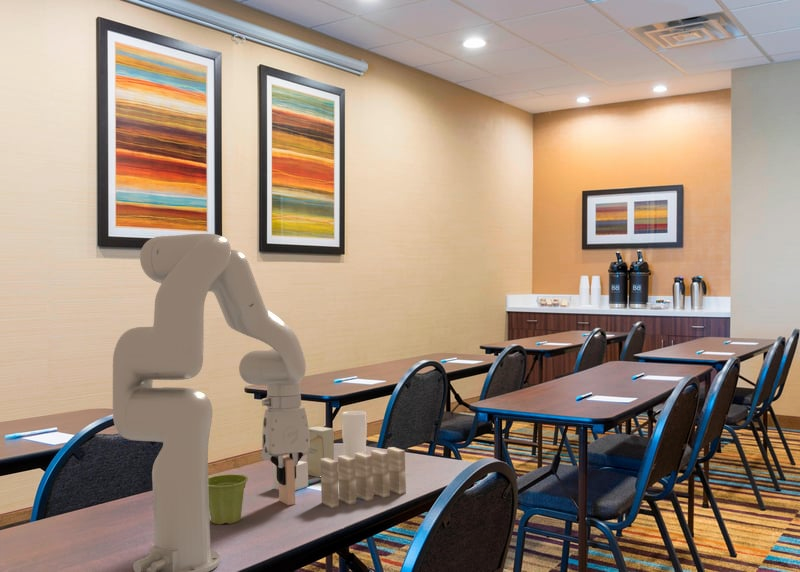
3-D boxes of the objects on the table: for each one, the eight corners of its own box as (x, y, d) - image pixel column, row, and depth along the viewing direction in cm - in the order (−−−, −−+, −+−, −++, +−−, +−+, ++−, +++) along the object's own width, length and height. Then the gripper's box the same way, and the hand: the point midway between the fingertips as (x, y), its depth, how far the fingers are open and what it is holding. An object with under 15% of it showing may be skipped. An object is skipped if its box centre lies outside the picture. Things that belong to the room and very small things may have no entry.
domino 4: (366, 501, 172) (365, 457, 172) (355, 496, 176) (354, 453, 176) (373, 499, 173) (372, 455, 173) (362, 494, 177) (361, 452, 177)
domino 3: (349, 504, 170) (348, 459, 170) (339, 499, 174) (337, 455, 174) (356, 503, 171) (355, 458, 171) (346, 498, 175) (344, 454, 175)
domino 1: (288, 505, 170) (286, 460, 170) (279, 500, 175) (278, 456, 175) (295, 503, 171) (294, 459, 171) (286, 498, 176) (285, 455, 175)
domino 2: (331, 508, 168) (330, 462, 167) (321, 502, 172) (320, 458, 172) (338, 506, 168) (337, 461, 168) (328, 501, 173) (327, 457, 173)
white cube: (308, 486, 187) (307, 462, 187) (291, 492, 182) (290, 467, 182) (290, 483, 190) (289, 459, 190) (273, 489, 185) (272, 464, 185)
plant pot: (258, 517, 162) (257, 476, 162) (227, 530, 154) (225, 487, 154) (225, 511, 167) (224, 472, 167) (193, 523, 159) (192, 482, 159)
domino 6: (399, 494, 177) (398, 451, 177) (388, 489, 181) (387, 447, 181) (405, 493, 178) (404, 450, 178) (394, 488, 182) (393, 446, 182)
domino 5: (383, 497, 174) (381, 454, 174) (372, 492, 179) (371, 450, 179) (389, 496, 175) (388, 453, 175) (378, 491, 180) (377, 449, 180)
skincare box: (306, 474, 198) (305, 428, 198) (318, 471, 201) (317, 425, 201) (322, 478, 194) (321, 430, 194) (335, 474, 197) (334, 428, 197)
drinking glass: (340, 467, 205) (338, 411, 205) (364, 464, 207) (362, 409, 207) (345, 472, 199) (344, 415, 199) (370, 470, 201) (369, 413, 201)
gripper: (257, 408, 166) (260, 492, 166) (322, 400, 174) (324, 481, 174) (245, 404, 172) (248, 485, 172) (308, 397, 180) (310, 474, 180)
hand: (286, 482), depth 173 cm, fingers closed on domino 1, 1 cm apart
